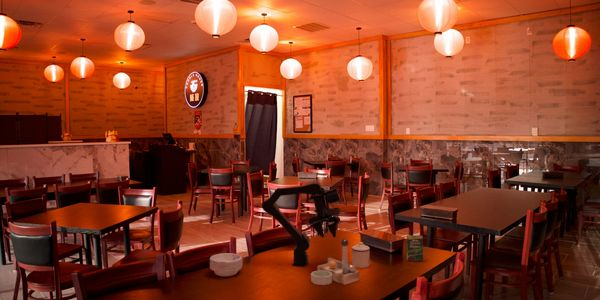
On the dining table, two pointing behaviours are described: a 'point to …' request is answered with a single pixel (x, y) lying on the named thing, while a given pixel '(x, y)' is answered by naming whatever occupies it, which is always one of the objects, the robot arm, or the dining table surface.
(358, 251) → the teacup with lid
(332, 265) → the ball
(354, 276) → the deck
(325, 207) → the robot arm
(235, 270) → the paper bowls
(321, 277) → the small white bowl
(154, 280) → the dining table surface
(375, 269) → the dining table surface
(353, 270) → the lever
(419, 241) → the coffee box
